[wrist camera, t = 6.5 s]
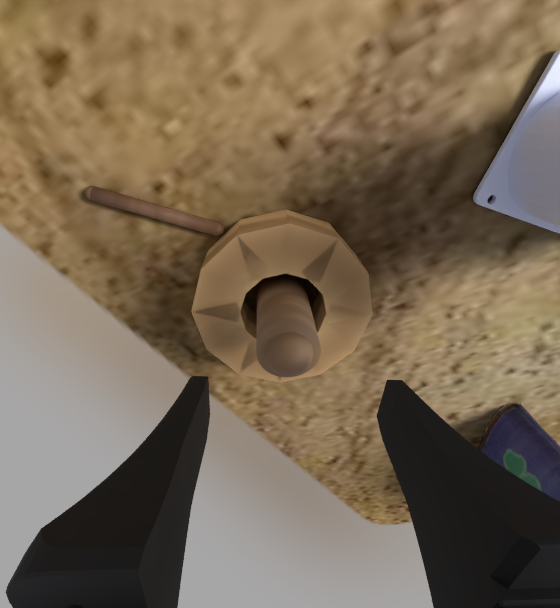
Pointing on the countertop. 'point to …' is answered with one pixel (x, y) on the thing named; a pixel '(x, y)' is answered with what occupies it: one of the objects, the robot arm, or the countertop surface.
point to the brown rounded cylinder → (285, 327)
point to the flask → (523, 448)
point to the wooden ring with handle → (262, 264)
